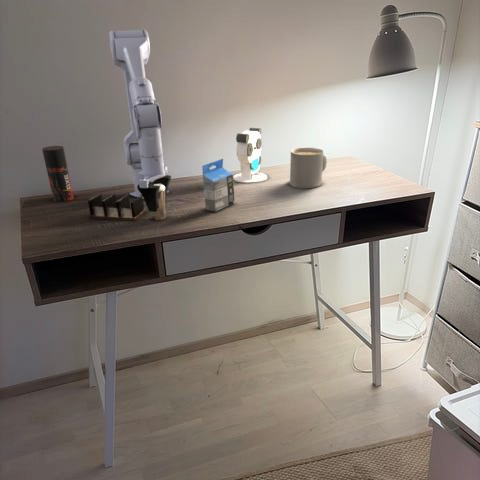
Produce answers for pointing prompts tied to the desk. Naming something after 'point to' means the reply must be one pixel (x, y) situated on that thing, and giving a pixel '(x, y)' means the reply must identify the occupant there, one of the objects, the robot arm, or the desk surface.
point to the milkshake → (160, 204)
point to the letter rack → (116, 208)
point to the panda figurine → (249, 156)
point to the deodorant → (58, 173)
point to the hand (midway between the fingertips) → (157, 207)
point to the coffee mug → (307, 167)
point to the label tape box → (217, 186)
